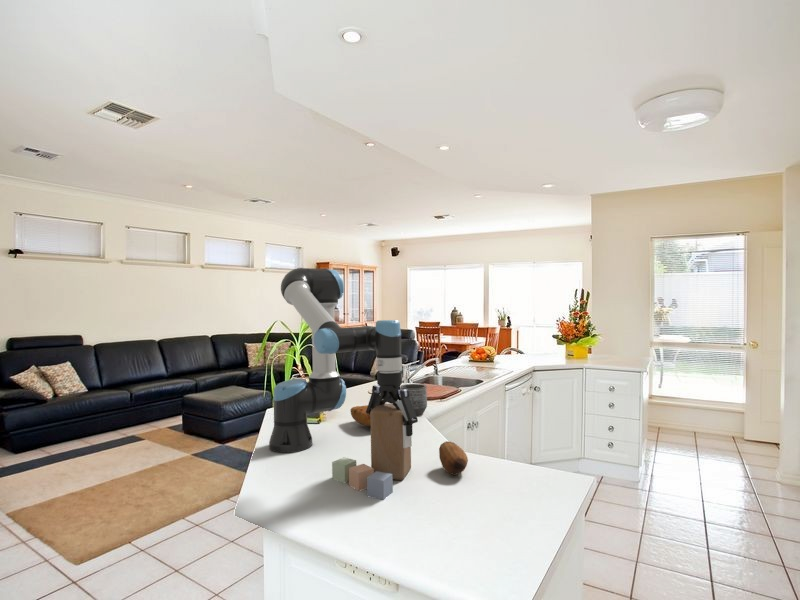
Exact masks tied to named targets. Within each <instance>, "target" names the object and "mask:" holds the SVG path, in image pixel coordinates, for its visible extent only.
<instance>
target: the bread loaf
mask: <svg viewBox="0 0 800 600" xmlns="http://www.w3.org/2000/svg"><path fill="white" fill-rule="evenodd" d="M367 407H368V404H367V405H366V404H365V405H360V406H359V405H357V406H353V407H351V408H350V415H351V417H352V419H353V420H354V421H356V422H357V423H359V424H360V425H363V426H368V427H371V423H370V414H367V413H366V410H367Z"/></svg>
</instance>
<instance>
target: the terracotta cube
mask: <svg viewBox="0 0 800 600" xmlns="http://www.w3.org/2000/svg"><path fill="white" fill-rule="evenodd" d="M373 473H374V468H372V467H371V465H370V466H369V465H368V464H365V463H362V464H356V466H354V467H350V468H349V481H348V485H350V487H351V486H352V487H351V488H353V489H354V488H355V490H357V492H359V491H360V490H361V491H363V489H364V490H367V489H366V488H367V477H369V476H370V475H372V474H373Z"/></svg>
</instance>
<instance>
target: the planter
mask: <svg viewBox="0 0 800 600" xmlns="http://www.w3.org/2000/svg"><path fill="white" fill-rule="evenodd" d="M400 388H401V390H404V389H408V390H409V397H410V400H411V403H412V405H413V408H414V411H415V414H416V416H417V417H419V416H422V415H424V413H425V411H426V410H427V407H428V391H427V385H425V384H421V383H406V384H401V385H400Z"/></svg>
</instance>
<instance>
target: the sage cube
mask: <svg viewBox="0 0 800 600" xmlns="http://www.w3.org/2000/svg"><path fill="white" fill-rule="evenodd" d="M354 466H357V460H356V459H353V458H349V457H345V456H344V457H343V456H342V457H341V458H339V459H336V460H334V461H331V468H332V469H331V471H332V472H331V474H332V475H331V476H332V478H331V479H332V480H334V479H335V480H334V481H337V480H338V481H337V482H341V483H344V482H345V483H347V482H349V468H350V467H354Z"/></svg>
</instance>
